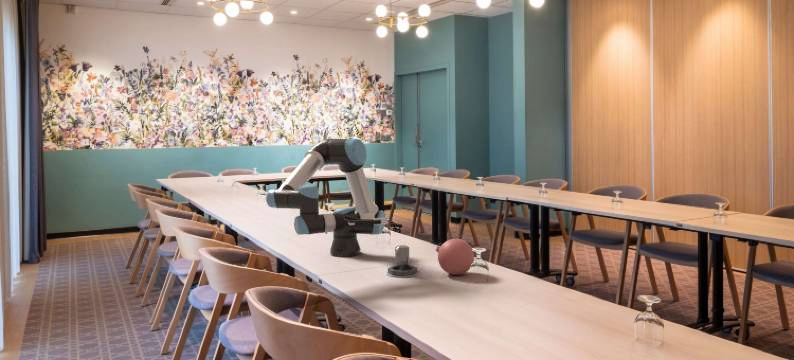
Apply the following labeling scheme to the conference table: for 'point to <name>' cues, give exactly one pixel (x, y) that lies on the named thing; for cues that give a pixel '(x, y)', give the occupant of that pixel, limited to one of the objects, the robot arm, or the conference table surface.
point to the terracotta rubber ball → (455, 256)
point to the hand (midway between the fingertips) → (380, 218)
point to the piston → (402, 258)
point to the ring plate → (402, 272)
